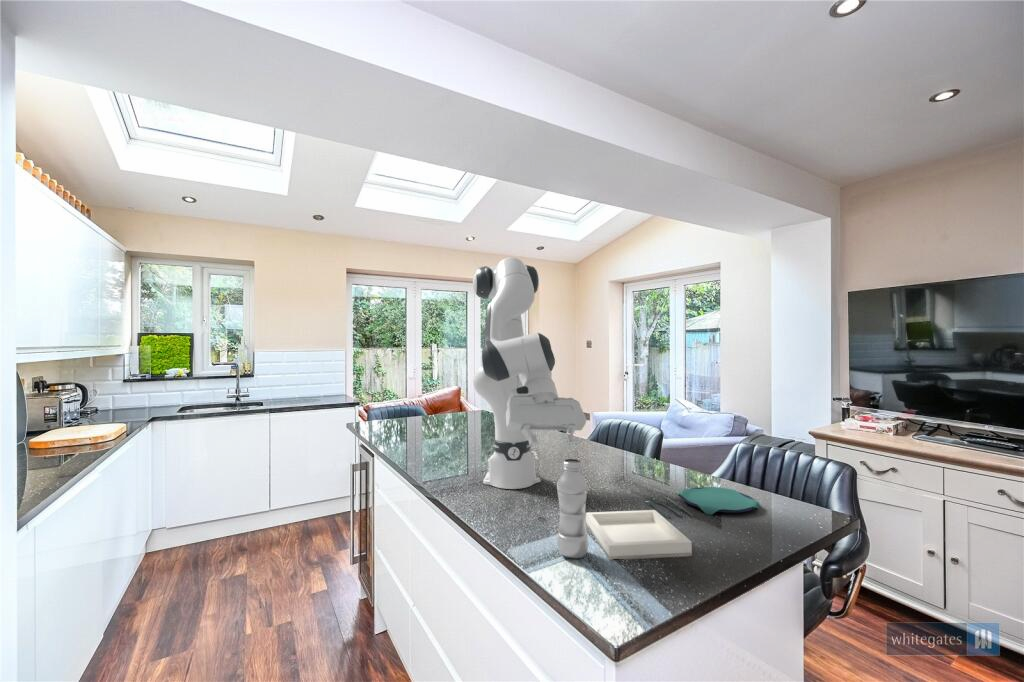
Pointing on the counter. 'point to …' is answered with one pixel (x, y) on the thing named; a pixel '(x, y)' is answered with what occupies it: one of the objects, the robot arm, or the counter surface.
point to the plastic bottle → (572, 511)
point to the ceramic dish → (637, 535)
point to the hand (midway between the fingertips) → (552, 443)
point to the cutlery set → (712, 501)
